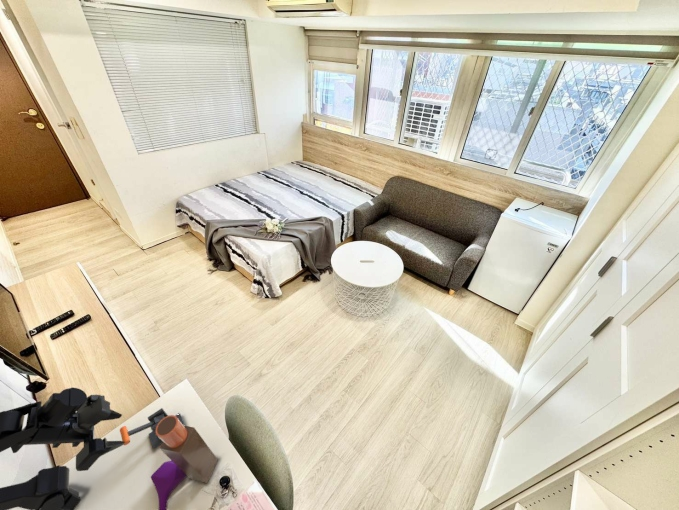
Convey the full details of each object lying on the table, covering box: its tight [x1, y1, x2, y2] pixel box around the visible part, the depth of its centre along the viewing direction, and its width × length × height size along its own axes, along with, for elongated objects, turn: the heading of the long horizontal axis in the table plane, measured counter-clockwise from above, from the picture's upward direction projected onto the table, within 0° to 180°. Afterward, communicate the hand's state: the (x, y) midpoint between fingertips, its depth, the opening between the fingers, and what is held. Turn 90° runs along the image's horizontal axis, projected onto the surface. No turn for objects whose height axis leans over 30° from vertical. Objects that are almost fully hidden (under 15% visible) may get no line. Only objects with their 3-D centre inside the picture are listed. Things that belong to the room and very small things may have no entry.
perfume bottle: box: [150, 459, 188, 510], centre depth 77 cm, size 8×8×18 cm
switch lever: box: [119, 414, 165, 446], centre depth 86 cm, size 11×6×2 cm, turn 132°
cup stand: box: [158, 424, 219, 484], centre depth 77 cm, size 6×6×24 cm
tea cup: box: [156, 414, 187, 448], centre depth 68 cm, size 5×5×7 cm
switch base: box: [147, 407, 186, 450], centre depth 91 cm, size 10×6×10 cm, turn 134°
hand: (122, 429), depth 79 cm, fingers open, 9 cm apart
